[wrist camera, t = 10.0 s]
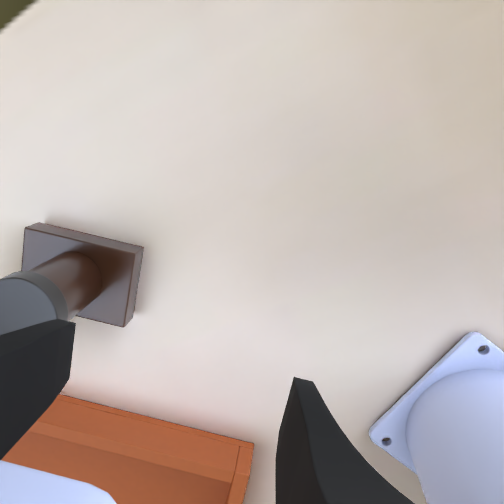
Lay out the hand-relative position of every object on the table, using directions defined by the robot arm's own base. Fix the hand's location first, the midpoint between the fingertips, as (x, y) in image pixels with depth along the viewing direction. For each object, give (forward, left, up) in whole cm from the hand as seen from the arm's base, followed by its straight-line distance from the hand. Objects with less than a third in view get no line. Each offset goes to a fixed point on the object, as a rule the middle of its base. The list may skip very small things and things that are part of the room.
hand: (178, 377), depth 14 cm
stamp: (+6, +4, -9) cm, 12 cm away
